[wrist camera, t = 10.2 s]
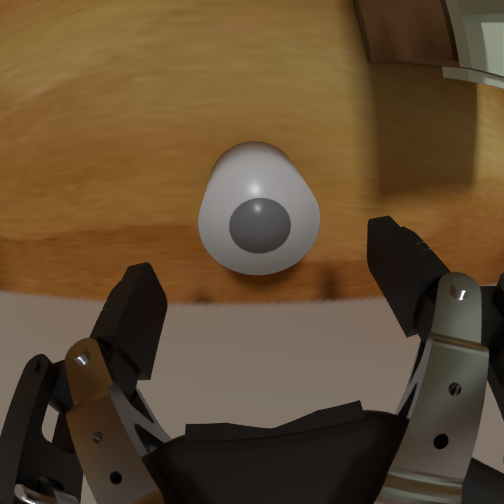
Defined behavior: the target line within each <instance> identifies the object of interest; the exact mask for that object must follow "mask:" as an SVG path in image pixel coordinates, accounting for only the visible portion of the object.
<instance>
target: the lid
mask: <svg viewBox="0 0 504 504" xmlns="http://www.w3.org/2000/svg"><path fill="white" fill-rule="evenodd" d="M445 1H446V4H447V8H448V11H449V15H450V19H451V23H452V27H453V31H454V36H455V41H456V46H457V52H458V58H459V64H460V67H463V68H468V69H462V68H451V67H442V71H443V78H451V79H458V80H464V81H470V82H475V83H480V84H485V85H490V86H494V87H498V88H502V89H504V0H445ZM470 69H473V70H470ZM475 70H477V71H475ZM479 71H481V72H479ZM483 72H485V73H483ZM487 73H489V74H487ZM491 74H493V75H491ZM494 75H496V76H494ZM498 76H500V77H498ZM501 77H503V78H501Z"/></svg>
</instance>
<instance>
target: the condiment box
mask: <svg viewBox="0 0 504 504" xmlns="http://www.w3.org/2000/svg"><path fill="white" fill-rule="evenodd" d="M353 1H354V5H355V8H356V12H357V15H358V19H359V23H360V27H361V31H362V36H363V40H364V45H365V49H366V54H367V59H368V62H389V63H406V64H418V65H427V66H435V67H451V68H462V69H468V68H463V67H460V64H459V58H458V52H457V46H456V41H455V36H454V31H453V27H452V23H451V19H450V15H449V11H448V8H447V4H446V1H445V0H353ZM470 70H473V69H470ZM475 71H477V70H475ZM479 72H481V71H479ZM483 73H485V72H483ZM487 74H489V73H487ZM491 75H493V74H491ZM494 76H496V75H494ZM498 77H500V76H498ZM501 78H503V77H501Z"/></svg>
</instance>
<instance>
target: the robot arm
mask: <svg viewBox="0 0 504 504" xmlns="http://www.w3.org/2000/svg"><path fill="white" fill-rule="evenodd" d="M367 262H368V267H369V270H370V272H371V274H372V275H373V277H374V279H375V281H376V282H377V284H378V286H379V287H380V289H381V291H382V293H383V294H384V296H385V298H386V300H387V302H388V303H389V305H390V307H391V308H392V311H393V313H394V314H395V316H396V318H397V320H398V322H399V324H400V326H401V327H402V329H403V331H404V333H405V335H406V337H410V336H413V335H416V334H418V335H419V336H420V338H421V340H420V343H419V346H418V349H417V353H416V357H415V360H414V364H413V367H412V371H411V374H410V377H409V380H408V383H407V387H406V389H405V392H404V395H403V397H402V399H401V401H400V404H399V406H398V408H397V411H396V413H395V414H392V413H388V412H383V411H373V410H363V409H362V406H361V402H360V400H359V401H355V402H352V403H348V404H344V405H340V406H336V407H332V408H327V409H322V410H317V411H315V412H313V413H311V414H308V415H306V416H303V417H301V418H299V419H296V420H294V421H292V422H289V423H286V424H284V425H281V426H279V427H276V428H270V429H269V428H259V427H251V426H243V425H237V424H230V423H213V424H186V429H185V435H182V436H179V437H177V438H174V439H171V438H170V437H169V435H168V434H167V433H166V432H165V431H164V430H163V429H162V427H161V426H160V425H159V423H158V421H157V419H156V418H155V416H154V415H153V413H152V411H151V409H150V408H149V406H148V404H147V402H146V401H145V399H144V397H143V395H142V393H141V392H140V390H139V389H138V388H137V387H136V385H137V381H138V380H150V379H151V373H152V369H153V365H154V360H155V356H156V351H157V347H158V343H159V339H160V335H161V331H162V327H163V323H164V319H165V315H166V311H167V298H166V295H165V293H164V291H163V289H162V287H161V285H160V283H159V281H158V279H157V276H156V274H155V272H154V270H153V268H152V266H151V265H150V264H149V263H147V262H146V263H141V264H136V265H132V266H129V267H128V268H127V270H126V272H125V274H124V276H123V278H122V280H121V281H120V282H119V283H118V284H117V285H116V286H115V287H114V288H113V289H112V290H111V292H110V294H109V296H108V298H107V302H105V305H104V307H103V310H102V311H101V313H100V315H99V317H98V319H97V321H96V324H95V326H94V328H93V330H92V333H91V335H90V337H89V338H84V339H81V340H80V341H78V342H76V343H75V344H74V345H73V346H72V347H71V348H70V349H69V351H68V352H67V354H66V357H65V360H62V361H59V362H56V363H52V362H51V361H50V360H49V359H48V358H47V357H46V356H45V355H44V354H39V355H36V356H34V357H33V358H32V359H30V361H29V362H28V363H27V364H26V366H25V368H24V370H23V373H22V375H21V377H20V380H19V382H18V385H17V388H16V390H15V393H14V395H13V398H12V401H11V404H10V407H9V410H8V413H7V416H6V420H5V422H4V426H3V429H2V433H1V436H0V504H80V501H81V491H82V481H83V473H84V475H85V477H86V480H87V482H88V485H89V487H90V489H91V491H92V493H93V496H94V498H95V500H96V502H97V504H504V473H502V472H500V471H498V470H496V469H494V468H492V467H490V466H488V465H486V464H484V463H482V462H480V461H478V460H476V459H475V458H473V457H472V453H473V450H474V446H475V442H476V438H477V434H478V430H479V425H480V421H481V416H482V410H483V404H484V398H485V391H486V383H487V380H488V382H489V385H490V387H491V389H492V392H493V394H494V396H495V399H496V402H497V404H498V407H499V409H500V412H501V415H502V418H503V420H504V273H503V274H501V276H500V278H499V281H498V284H497V286H479V285H478V283H477V282H476V281H475V280H474V279H473V278H471V277H470V276H468V275H466V274H463V273H459V272H450V270H449V269H448V268H447V267H446V266H445V265H444V263H443V262H442V261H441V260H440V259H439V258H438V257H437V255H436V254H435V253H434V252H433V251H432V250H430V249H429V247H428V246H427V244H426V243H423V240H422V239H421V238H420V237H419V236H418V235H417V234H416V233H415V232H413V231H411V230H409V229H407V228H405V227H400V226H399V225H398V224H397V223H396V222H395V221H394V220H393V219H392V218H391V217H390V216H383V217H378V218H373V219H369V221H368V232H367ZM48 404H49V405H50V406H51V407H52V408H54V409H55V410H56V411H57V412H59V415H58V420H57V423H56V427H55V432H54V436H53V440H52V443H51V442H49V441H47V440H46V439H45V438H44V436H43V434H42V423H43V419H44V416H45V412H46V409H47V406H48ZM503 463H504V457H503Z"/></svg>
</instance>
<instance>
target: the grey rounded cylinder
mask: <svg viewBox="0 0 504 504" xmlns="http://www.w3.org/2000/svg"><path fill="white" fill-rule="evenodd" d="M198 227H199V233H200V237H201V240H202V242H203V244H204V246H205V248H206V250H207V251H208V252H209V254H210V255H211V256H212V257H213V258H214V259H215V260H216V261H217V262H219V263H220V264H221V265H223V266H225V267H226V268H228V269H230V270H233V271H235V272H239V273H242V274H248V275H266V274H272V273H276V272H279V271H282V270H285V269H287V268H289V267H291V266H292V265H294V264H295V263H297V262H298V261H299V260H301V259H302V258H303V257H304V256H305V255H306V254H307V253H308V251H309V250H310V249H311V247H312V246H313V244H314V242H315V240H316V238H317V235H318V232H319V227H320V212H319V207H318V204H317V201H316V199H315V197H314V195H313V193H312V192H311V190H310V189H309V187H308V186H307V184H306V183H305V181H304V179H303V178H302V176H301V175H300V173H299V172H298V171H297V169H296V168H295V166H294V165H293V163H292V162H291V160H290V159H289V158H288V156H287V155H286V154H285V153H284V152H283V151H281V150H280V149H279V148H277V147H275V146H273V145H270V144H268V143H264V142H256V141H254V142H244V143H241V144H238V145H235V146H233V147H231V148H230V149H228V150H227V151H225V152H224V153H223V154H222V155H221V156H220V157H219V159H218V160H217V161H216V163H215V165H214V167H213V169H212V172H211V175H210V178H209V182H208V185H207V188H206V192H205V195H204V198H203V202H202V205H201V208H200V213H199V219H198Z"/></svg>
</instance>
